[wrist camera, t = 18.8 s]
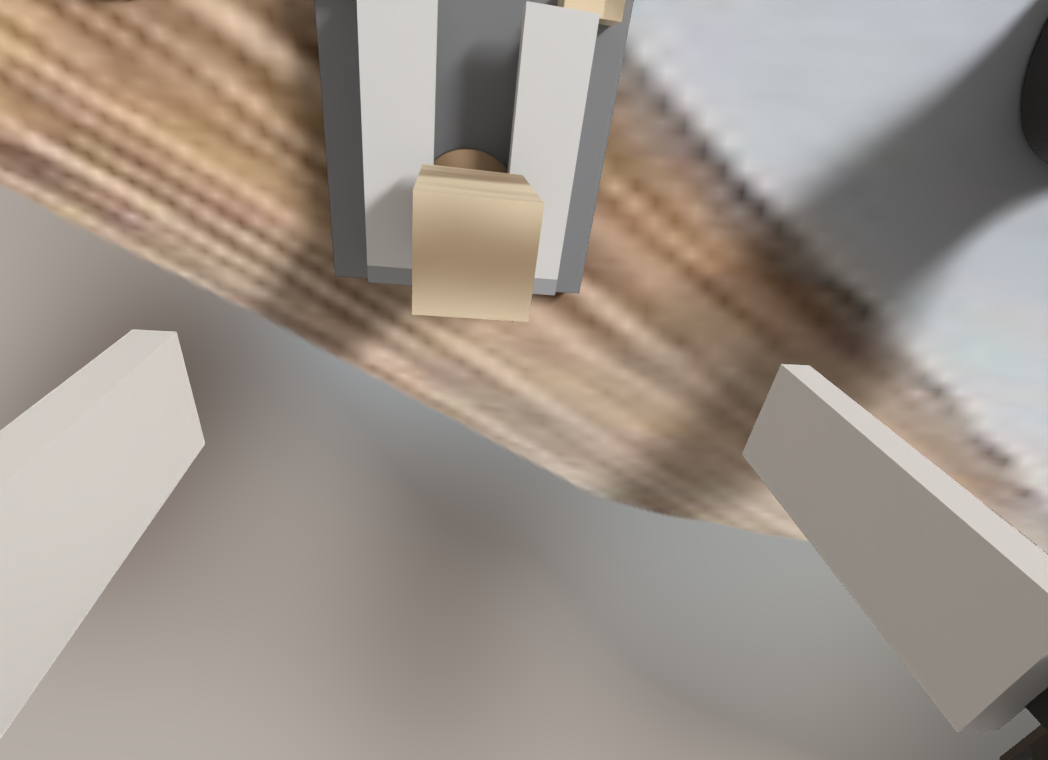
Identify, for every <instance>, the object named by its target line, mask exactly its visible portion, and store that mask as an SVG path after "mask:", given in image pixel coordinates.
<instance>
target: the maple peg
mask: <svg viewBox="0 0 1048 760" xmlns="http://www.w3.org/2000/svg"><path fill="white" fill-rule="evenodd" d="M543 211H544V202H543V201H542V200H541V198H540V197H539V196H538V195H537V193H536V192H535V191H534V189H533V188H532V187H531V185H530V184H529V183H528V181H527V180H526V179H525V177H524V176H523V175H518V174H509V173H508V171H507V169H506V168H505V167H504V165H503V164H502V163H501V162H500V161H499V160H497V159H496V158H495V157H493V156H492V155H490V154H488V153H486V152H484V151H482V150H479V149H474V148H457V149H452V150H449V151H447V152H444V153H443V154H441V155H439V156H438V157H437V158H435V159H434V165H429V164H422V167H421V169H420V172H419V175H418V177H417V180H416V183H415V186H414V188H413V228H412V315H426V316H442V317H458V318H475V319H491V320H507V321H523V322H528V321H529V314H530V306H531V299H532V292H533V284H534V277H535V270H536V262H537V255H538V248H539V241H540V233H541V226H542V219H543Z"/></svg>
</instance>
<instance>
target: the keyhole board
mask: <svg viewBox="0 0 1048 760" xmlns="http://www.w3.org/2000/svg"><path fill="white" fill-rule="evenodd" d="M633 2H634V0H315V11H316V25H317V38H318V52H319V65H320V79H321V92H322V106H323V119H324V132H325V146H326V159H327V173H328V186H329V200H330V213H331V227H332V240H333V254H334V267H335V276H340V277H354V278H368V282H370V283H384V284H398V285H412V228H413V188H414V186H415V183H416V180H417V177H418V175H419V172H420V169H421V167H422V164H429V165H434V159H435V158H437V157H438V156H439V155H441V154H443V153H444V152H447V151H449V150H452V149H457V148H474V149H479V150H482V151H484V152H486V153H488V154H490V155H492V156H493V157H495V158H496V159H497V160H499V161H500V162H501V163H502V164H503V165H504V167H505V168H506V169H507V171H508V173H509V174H518V175H523V176H524V177H525V179H526V180H527V181H528V183H529V184H530V185H531V187H532V188H533V189H534V191H535V192H536V193H537V195H538V196H539V197H540V198H541V200H542V201H543V202H544V211H543V219H542V226H541V233H540V241H539V248H538V255H537V262H536V270H535V277H534V284H533V292H532V294H541V295H555V292H565V293H579V292H580V286H581V281H582V276H583V270H584V265H585V259H586V254H587V249H588V243H589V238H590V233H591V227H592V222H593V216H594V211H595V206H596V200H597V195H598V190H599V184H600V179H601V173H602V168H603V163H604V157H605V152H606V147H607V141H608V136H609V131H610V125H611V120H612V114H613V109H614V104H615V98H616V93H617V88H618V82H619V77H620V71H621V66H622V61H623V55H624V50H625V45H626V39H627V34H628V28H629V23H630V18H631V12H632V7H633Z"/></svg>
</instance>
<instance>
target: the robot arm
mask: <svg viewBox="0 0 1048 760" xmlns="http://www.w3.org/2000/svg"><path fill="white" fill-rule="evenodd" d="M1022 121H1023V127H1024V131H1025V135H1026V138H1027V140H1028V142H1029V144H1030V146H1031V148H1032V149H1033V150H1034V152H1035V153H1036V154H1037V155H1038V156H1039V157H1040V158H1042V159H1043V160H1044V161H1046V162H1048V22H1047V24H1046V26H1045V28H1044V30H1043V32H1042V34H1041V36H1040V39H1039V41H1038V43H1037V46H1036V48H1035V51H1034V53H1033V56H1032V59H1031V62H1030V65H1029V68H1028V72H1027V75H1026V80H1025V84H1024V90H1023V98H1022ZM204 445H205V441H204V437H203V433H202V430H201V426H200V421H199V418H198V414H197V410H196V406H195V402H194V398H193V394H192V390H191V387H190V382H189V379H188V375H187V371H186V367H185V363H184V359H183V355H182V351H181V347H180V343H179V340H178V336H177V332H170V331H153V330H152V331H151V330H131V331H130V332H129V333H127V334H126V335H125V336H124V337H122V338H121V339H120V340H118V341H117V342H116V343H114V344H113V345H112V346H110V347H109V348H108V349H106V350H105V351H104V352H103V353H101V354H100V355H99V356H97V357H96V358H95V359H93V360H92V361H91V362H89V363H88V364H87V365H86V366H84V367H83V368H82V369H80V370H79V371H78V372H76V373H75V374H74V375H72V376H71V377H70V378H68V379H67V380H66V381H64V383H62V384H61V385H59V386H58V387H57V388H55V389H54V390H53V391H51V392H50V393H49V394H47V395H46V396H45V397H44V398H42V399H41V400H40V401H38V402H37V403H36V404H34V405H33V406H32V407H30V408H29V409H28V410H27V411H25V412H24V413H23V414H21V415H20V416H19V417H17V418H16V419H15V420H13V421H12V422H11V423H10V424H8V425H7V426H5V427H4V428H3V429H2V430H0V739H1V737H2V736H3V735H4V733H5V731H6V730H7V729H8V727H9V726H10V724H11V723H12V722H13V720H14V719H15V717H16V716H17V714H18V713H19V711H20V710H21V709H22V707H23V706H24V704H25V703H26V701H27V700H28V698H29V697H30V696H31V694H32V693H33V691H34V690H35V688H36V687H37V685H38V684H39V683H40V681H41V680H42V678H43V677H44V675H45V674H46V673H47V671H48V670H49V668H50V667H51V665H52V664H53V662H54V661H55V659H56V658H57V656H58V655H59V654H60V652H61V651H62V649H63V648H64V646H65V645H66V644H67V642H68V641H69V639H70V638H71V636H72V635H73V633H74V632H75V631H76V629H77V628H78V626H79V625H80V624H81V622H82V621H83V619H84V618H85V616H86V615H87V613H88V612H89V611H90V609H91V608H92V606H93V605H94V603H95V602H96V600H97V599H98V598H99V596H100V594H101V593H102V592H103V590H104V589H105V587H106V586H107V584H108V583H109V582H110V580H111V579H112V577H113V576H114V574H115V573H116V572H117V570H118V569H119V567H120V566H121V564H122V563H123V562H124V560H125V559H126V557H127V556H128V554H129V553H130V551H131V550H132V548H133V547H134V546H135V544H136V543H137V541H138V540H139V538H140V537H141V535H142V534H143V532H144V531H145V530H146V528H147V527H148V525H149V524H150V523H151V521H152V520H153V518H154V517H155V515H156V514H157V513H158V511H159V510H160V508H161V507H162V505H163V504H164V502H165V501H166V500H167V498H168V497H169V495H170V494H171V492H172V491H173V489H174V488H175V487H176V485H177V484H178V482H179V481H180V479H181V478H182V476H183V475H184V474H185V472H186V471H187V469H188V468H189V466H190V464H191V463H192V462H193V461H194V459H195V458H196V456H197V455H198V453H199V452H200V451H201V449H202V448H203V446H204ZM742 455H743V456H744V458H745V459H746V460H747V462H748V463H749V464H750V465H751V467H752V468H753V469H754V471H755V472H756V473H757V475H758V476H759V477H760V478H761V480H762V481H763V482H764V484H765V485H766V486H767V487H768V489H769V490H770V491H771V493H772V494H773V495H774V496H775V498H776V499H777V500H778V502H779V503H780V504H781V505H782V507H783V508H784V509H785V511H786V512H787V513H788V515H789V516H790V517H791V518H792V520H793V521H794V522H795V524H796V525H797V526H798V527H799V529H800V530H801V531H802V533H803V534H804V535H805V536H806V538H807V539H808V540H809V542H810V543H811V544H812V545H813V547H814V548H815V549H816V551H817V552H818V553H819V554H820V556H821V557H822V558H823V560H824V561H825V562H826V564H827V565H828V566H829V567H830V569H831V570H832V571H833V572H834V574H835V575H836V576H837V578H838V579H839V580H840V582H841V583H842V584H843V586H844V587H845V588H846V589H847V591H848V592H849V593H850V595H851V596H852V597H853V598H854V600H855V601H856V602H857V604H858V605H859V606H860V607H861V609H862V610H863V611H864V613H865V614H866V615H867V617H868V618H869V619H870V620H871V622H872V623H873V624H874V625H875V627H876V628H877V629H878V631H879V632H880V633H881V635H882V636H883V637H884V638H885V640H886V641H887V642H888V644H889V645H890V646H891V647H892V649H893V650H894V651H895V653H896V654H897V655H898V657H899V658H900V659H901V660H902V662H903V663H904V664H905V666H906V667H907V668H908V669H909V671H910V672H911V673H912V675H913V676H914V677H915V678H916V680H917V681H918V682H919V684H920V685H921V686H922V687H923V689H924V690H925V691H926V693H927V694H928V695H929V697H930V698H931V699H932V700H933V702H934V703H935V704H936V706H937V707H938V708H939V709H940V711H941V712H942V713H943V715H944V716H945V717H946V718H947V720H948V721H949V722H950V724H951V725H952V726H953V728H954V729H955V730H956V731H957V733H964V732H975V731H986V730H997V729H1000V728H1001V727H1002V726H1004V725H1005V724H1006V723H1007V722H1009V721H1010V720H1011V719H1012V718H1013V717H1015V716H1016V715H1017V714H1018V713H1019V712H1021V711H1022V710H1023V709H1024V708H1025V707H1026V708H1027V709H1028V710H1029V711H1030V713H1031V714H1033V716H1034V717H1035V718H1036V719H1037V720H1038V721H1039V722H1040V723H1041V725H1040V726H1039V727H1037V728H1036V729H1035V730H1034V731H1032V732H1031V733H1030V734H1029V735H1027V736H1026V737H1025V738H1024V739H1022V740H1021V741H1020V742H1018V744H1016V745H1015V746H1013V747H1012V748H1011V749H1010V750H1009V751H1007V752H1006V753H1005V754H1003V755H1002V756H1001V757H1000V760H1048V554H1047V553H1046V552H1045V551H1043V550H1041V549H1040V548H1039V547H1038V546H1037V545H1036V544H1035V543H1033V542H1032V541H1031V540H1029V539H1028V538H1027V537H1026V536H1024V535H1023V534H1022V533H1021V532H1019V531H1018V530H1016V529H1015V528H1014V527H1013V526H1012V525H1011V524H1009V523H1008V522H1007V521H1006V520H1004V519H1003V518H1002V517H1000V516H999V515H998V514H997V513H995V512H994V511H993V510H992V509H990V508H989V507H988V506H987V505H985V504H984V503H982V502H981V501H980V500H978V499H977V498H976V497H975V496H973V495H972V494H971V493H970V492H968V491H967V490H966V489H965V488H963V487H962V486H961V485H960V484H958V483H957V482H956V481H955V480H953V479H952V478H951V477H949V476H948V475H947V474H946V473H944V472H943V471H942V470H941V469H939V468H938V467H937V466H936V465H934V464H933V463H932V462H931V461H929V460H928V459H927V458H926V457H924V456H923V455H922V454H921V453H919V452H918V451H917V450H915V449H914V448H913V447H912V446H910V445H909V444H908V443H907V442H905V441H904V440H903V439H902V438H900V437H899V436H898V435H897V434H895V433H894V432H893V431H892V430H890V429H889V428H888V427H887V426H885V425H884V424H883V423H881V422H880V421H879V420H878V419H876V418H875V417H874V416H873V415H871V414H870V413H869V412H868V411H866V410H865V409H864V408H863V407H861V406H860V405H859V404H858V403H856V402H855V401H854V400H853V399H851V398H850V397H849V396H847V395H846V394H845V393H844V392H842V391H841V390H840V389H839V388H837V387H836V386H835V385H834V384H832V383H831V382H830V381H829V380H827V379H826V378H825V377H824V376H822V375H821V374H820V373H819V372H817V371H816V370H815V369H813V368H812V367H811V366H810V365H792V364H781V365H780V368H779V370H778V372H777V374H776V377H775V379H774V381H773V384H772V386H771V388H770V390H769V393H768V395H767V397H766V400H765V402H764V404H763V407H762V409H761V411H760V413H759V416H758V418H757V420H756V423H755V425H754V427H753V429H752V432H751V434H750V436H749V439H748V441H747V443H746V446H745V448H744V450H743V452H742Z"/></svg>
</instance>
